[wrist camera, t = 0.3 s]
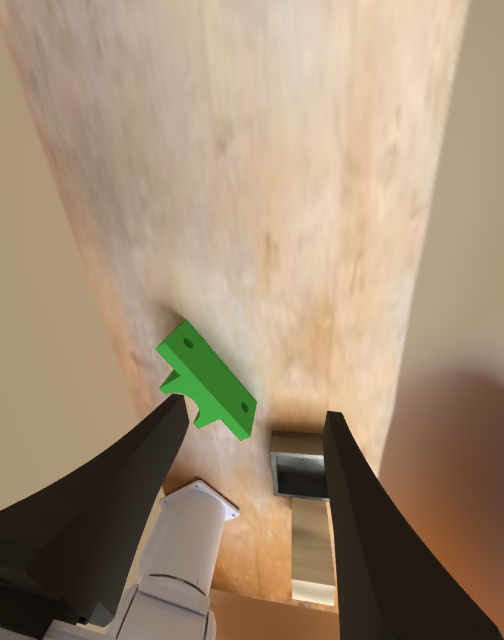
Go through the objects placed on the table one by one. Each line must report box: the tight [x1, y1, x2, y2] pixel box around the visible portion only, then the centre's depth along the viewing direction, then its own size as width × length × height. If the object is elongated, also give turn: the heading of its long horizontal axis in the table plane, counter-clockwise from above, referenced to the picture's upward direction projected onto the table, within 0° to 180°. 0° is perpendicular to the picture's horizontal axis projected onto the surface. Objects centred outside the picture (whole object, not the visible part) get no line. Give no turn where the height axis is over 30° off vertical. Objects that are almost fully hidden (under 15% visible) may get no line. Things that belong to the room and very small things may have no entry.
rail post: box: [292, 498, 336, 606], centre depth 27 cm, size 4×4×8 cm
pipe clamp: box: [156, 320, 257, 441], centre depth 23 cm, size 11×4×5 cm, turn 36°
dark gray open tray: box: [270, 431, 330, 502], centre depth 26 cm, size 7×7×2 cm
